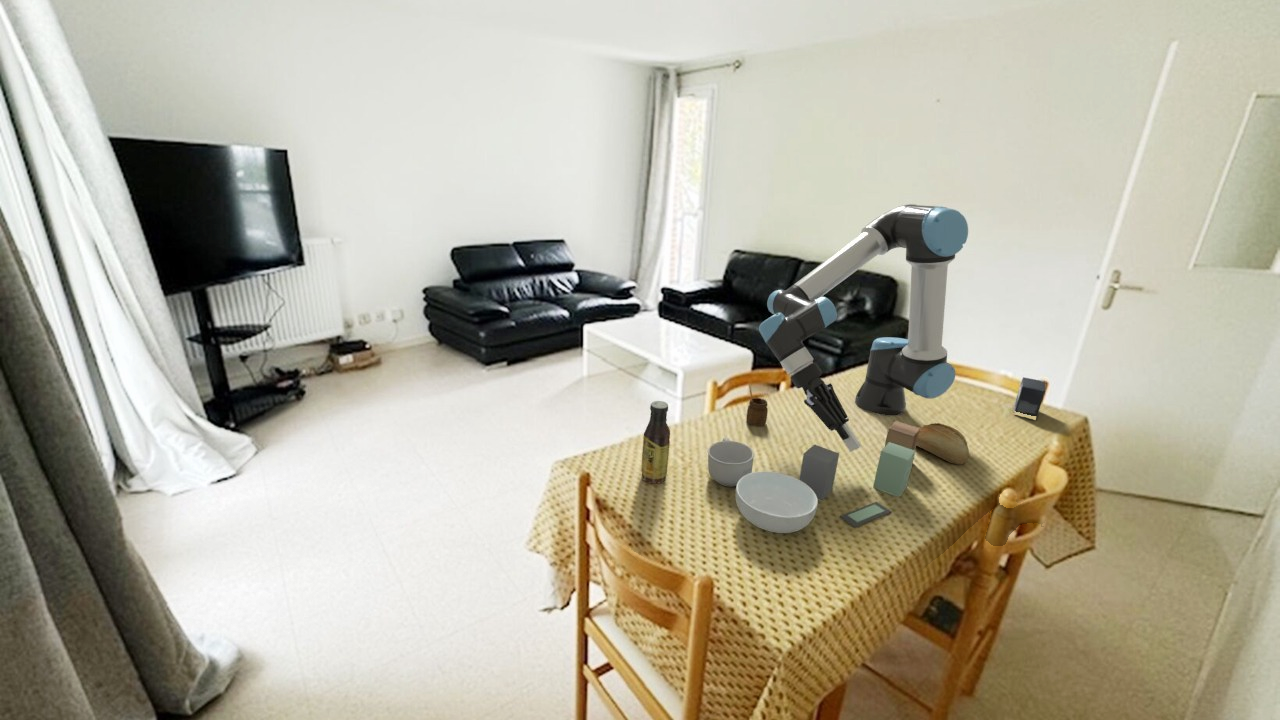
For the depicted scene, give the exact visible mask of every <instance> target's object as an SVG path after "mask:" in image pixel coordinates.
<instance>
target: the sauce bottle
mask: <svg viewBox="0 0 1280 720" xmlns="http://www.w3.org/2000/svg"><path fill="white" fill-rule="evenodd" d="M649 409H650V417H649V421H648V424H647V426H646V429H644V432H643V437H642V438H643V439H642V440H643V441H642V454H641V455H642V456H641V467H640V471H641V478H642V480H643V481H645V482H647V483H648V484H660V483H663V482H664V481H665V480H666V479H667V474H668V464H669V463H668V462H669V456H670V455H669V453H670V452H669V451H670V444H671V443H670V436H671V430H670V426H668V423H667V416H668V415H667V414H668V412H669V404H668V403H667V402H666V401H662V400H654V401H652V402H651V404H650V407H649Z"/></svg>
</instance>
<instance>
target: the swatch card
mask: <svg viewBox="0 0 1280 720" xmlns="http://www.w3.org/2000/svg"><path fill="white" fill-rule="evenodd" d="M889 514H892V510H891V509H889V508H887V507H885V506H884V505H882V503H879V502H878V501H875V502H872V503H869V504H867V505H864V506H861V507H859V508H857V509H854V510H851V511H849V512H846V513H844V514H841V515H840V516H839V518H840V519H841V520H843V521H844V522H846V524H849V526H851V527H853V528H854V529H855V528H858V527H861V526H863V525H865V524H867V523H871V522H872V521H875V520H877V519H880V518H882V517H884V516H887V515H889Z"/></svg>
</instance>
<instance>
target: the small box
mask: <svg viewBox="0 0 1280 720" xmlns="http://www.w3.org/2000/svg"><path fill="white" fill-rule="evenodd" d="M1045 395H1046V381H1045V380H1041V379H1033V378H1028V377H1022V379H1021V382H1020V385H1019V388H1018V392H1017V394H1016V398H1015V402H1014V407H1015V408H1013V409H1014V410H1015V411H1016V412H1020V413H1023V414H1027V415H1031V416H1037V417H1039V412H1040V409H1041V405H1042V403H1043V399H1044V396H1045ZM1014 410H1013V411H1014Z"/></svg>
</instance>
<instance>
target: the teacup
mask: <svg viewBox="0 0 1280 720" xmlns="http://www.w3.org/2000/svg"><path fill="white" fill-rule="evenodd" d="M754 457H755V453H754V450H753V449H752V448H751V446H749V445H747V444H745V443H742V442H739V441H733V440H731V439H730V437H728V436H727V437H723V438H722V441H717V442H715V443H712V444H711V445H710V446H709V447H708V448H707V467H708V468H707V469H708V473H709V475H710V477H711V478H712V480H714V481H715V482H716V483H719V485H722V486H724V487H736V486H737V483H738V481H739V480H740V479H741V478H742V477H743V476H745V475H747V474H750V473H753V472H752V471H753V467H754Z"/></svg>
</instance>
